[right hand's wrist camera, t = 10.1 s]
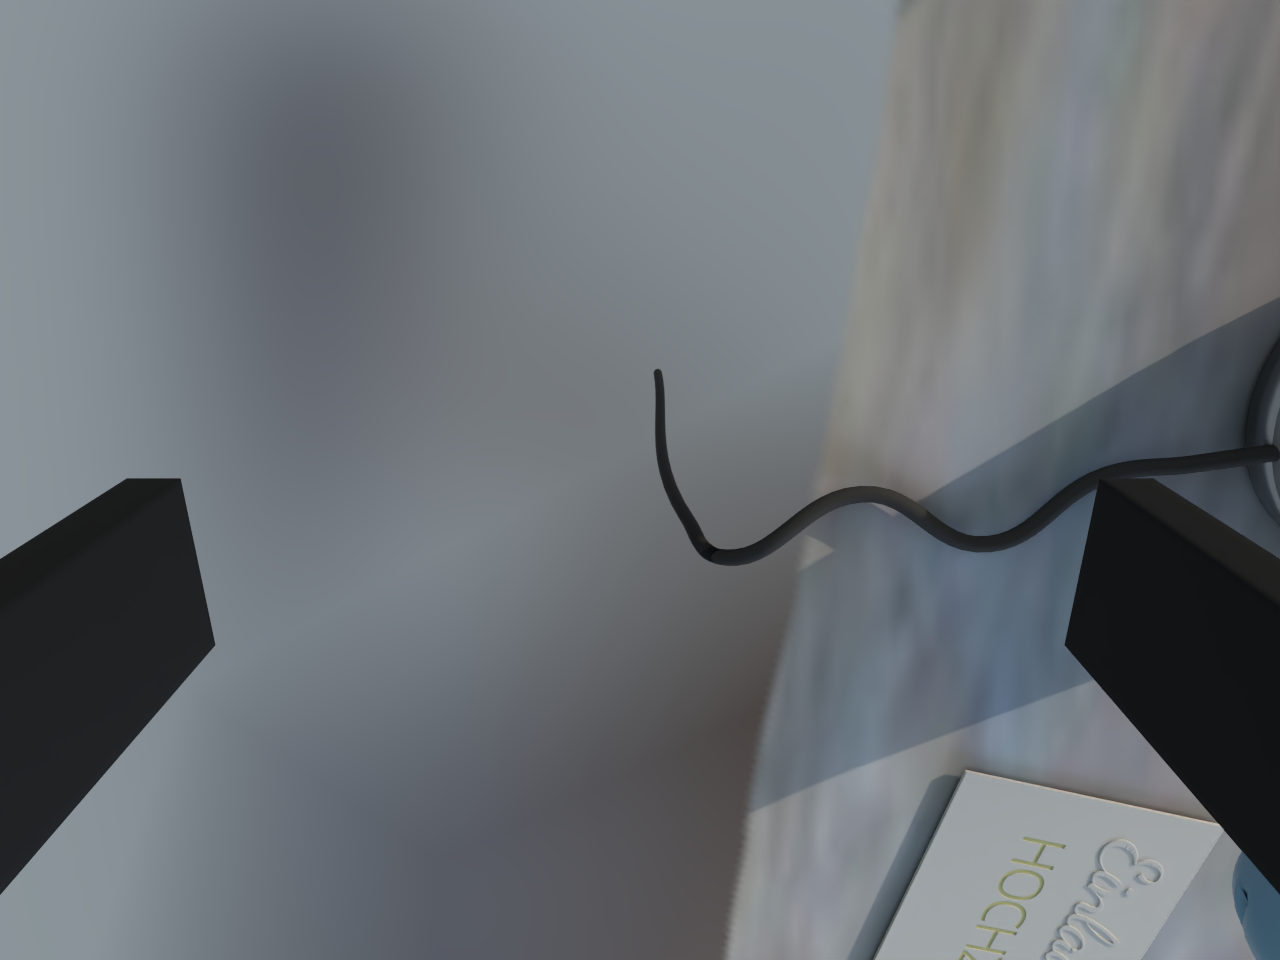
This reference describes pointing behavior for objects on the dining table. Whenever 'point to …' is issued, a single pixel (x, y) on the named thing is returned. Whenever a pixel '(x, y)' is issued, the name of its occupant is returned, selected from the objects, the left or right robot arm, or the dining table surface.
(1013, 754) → the dining table surface
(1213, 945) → the dining table surface
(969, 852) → the invitation card
